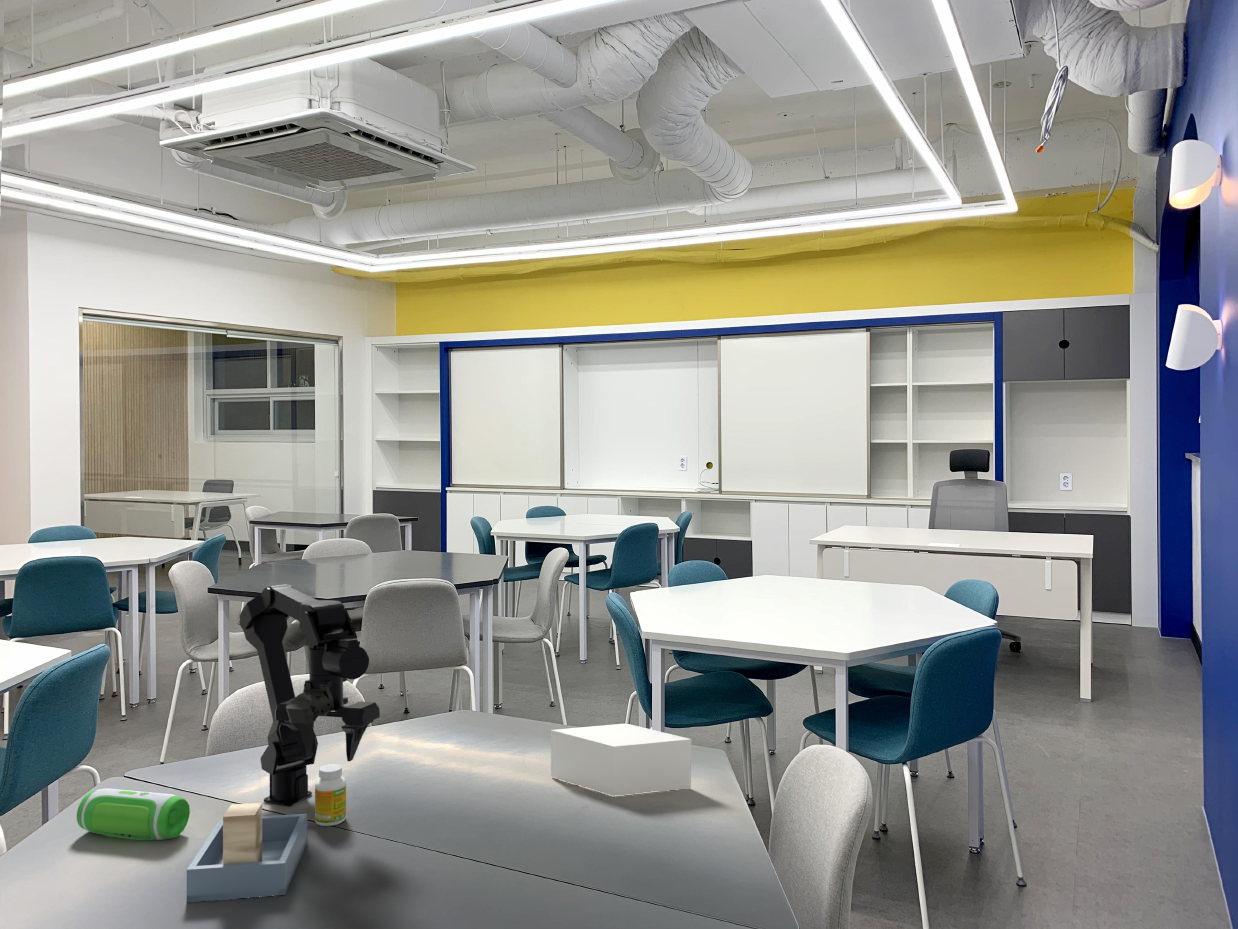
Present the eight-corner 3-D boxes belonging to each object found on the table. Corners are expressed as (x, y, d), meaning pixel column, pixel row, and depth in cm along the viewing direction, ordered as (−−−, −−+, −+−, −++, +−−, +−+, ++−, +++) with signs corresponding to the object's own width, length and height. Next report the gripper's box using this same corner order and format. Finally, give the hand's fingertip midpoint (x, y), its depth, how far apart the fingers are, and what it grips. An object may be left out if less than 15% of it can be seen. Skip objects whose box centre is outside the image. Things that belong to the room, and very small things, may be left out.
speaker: (192, 830, 155) (192, 788, 155) (163, 849, 148) (163, 805, 148) (106, 821, 158) (106, 780, 158) (74, 839, 151) (73, 796, 151)
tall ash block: (231, 873, 137) (231, 804, 137) (262, 871, 138) (262, 802, 138) (223, 888, 133) (223, 816, 132) (254, 886, 133) (255, 815, 133)
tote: (220, 848, 148) (220, 818, 148) (307, 842, 150) (307, 813, 150) (186, 902, 130) (186, 869, 130) (285, 895, 133) (285, 863, 132)
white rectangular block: (687, 804, 168) (688, 751, 168) (541, 793, 173) (542, 741, 173) (693, 776, 183) (694, 727, 182) (559, 766, 188) (559, 719, 187)
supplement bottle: (336, 828, 156) (336, 774, 156) (309, 825, 157) (309, 771, 157) (351, 815, 161) (351, 763, 161) (324, 813, 162) (325, 761, 162)
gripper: (252, 680, 153) (254, 769, 153) (341, 684, 147) (344, 777, 147) (295, 667, 164) (297, 750, 164) (380, 670, 158) (382, 757, 157)
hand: (328, 759), depth 158 cm, fingers open, 9 cm apart
